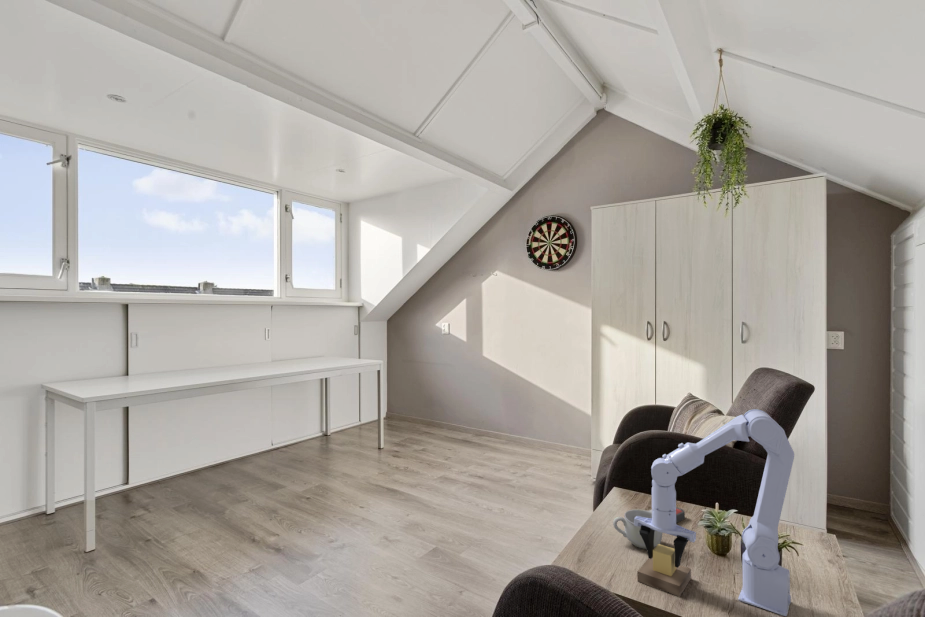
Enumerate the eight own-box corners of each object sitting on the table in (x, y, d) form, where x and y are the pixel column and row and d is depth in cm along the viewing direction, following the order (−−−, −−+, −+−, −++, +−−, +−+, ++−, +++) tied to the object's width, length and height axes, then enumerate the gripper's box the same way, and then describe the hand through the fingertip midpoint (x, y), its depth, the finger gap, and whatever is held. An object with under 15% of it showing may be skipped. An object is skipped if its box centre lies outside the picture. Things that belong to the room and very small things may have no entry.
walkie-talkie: (663, 510, 162) (629, 525, 151) (663, 497, 163) (629, 511, 151) (688, 519, 155) (654, 535, 144) (688, 505, 155) (654, 521, 144)
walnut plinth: (690, 578, 119) (690, 568, 119) (679, 596, 112) (679, 586, 112) (650, 565, 126) (650, 555, 126) (637, 581, 118) (637, 571, 118)
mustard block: (676, 569, 119) (676, 549, 119) (671, 576, 116) (671, 556, 116) (658, 563, 122) (658, 543, 122) (653, 570, 119) (652, 550, 119)
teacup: (660, 538, 141) (660, 511, 141) (666, 555, 131) (665, 526, 131) (612, 532, 145) (612, 506, 145) (613, 549, 135) (613, 521, 135)
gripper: (698, 510, 117) (699, 564, 117) (640, 495, 127) (640, 546, 127) (691, 519, 112) (691, 576, 112) (631, 503, 121) (631, 556, 121)
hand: (664, 561), depth 119 cm, fingers open, 6 cm apart
